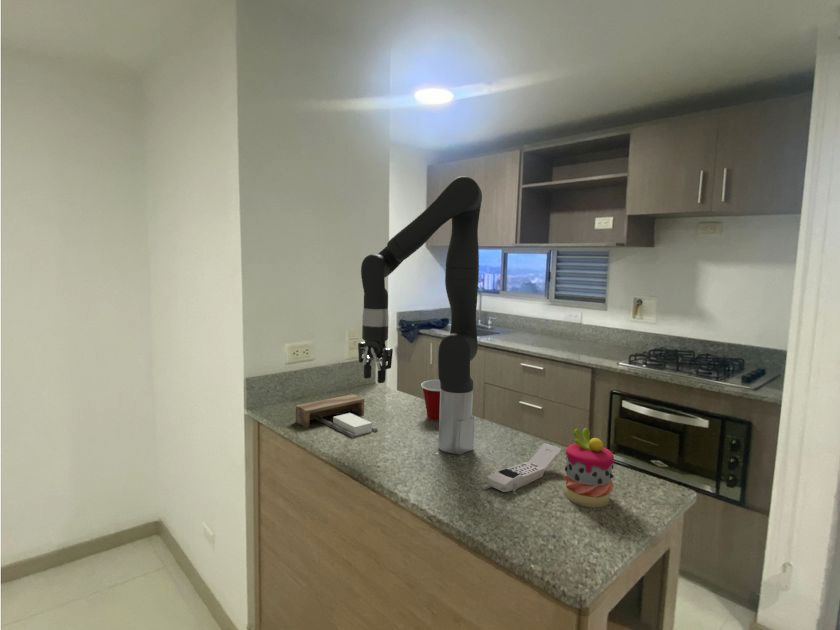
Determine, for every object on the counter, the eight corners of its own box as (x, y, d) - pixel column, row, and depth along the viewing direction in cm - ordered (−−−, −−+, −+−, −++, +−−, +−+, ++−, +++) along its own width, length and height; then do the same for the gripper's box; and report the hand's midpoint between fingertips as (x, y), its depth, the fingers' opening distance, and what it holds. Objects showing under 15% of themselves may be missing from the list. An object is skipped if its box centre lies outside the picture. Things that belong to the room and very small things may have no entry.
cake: (619, 497, 108) (624, 434, 106) (597, 513, 101) (602, 446, 99) (576, 481, 116) (580, 422, 114) (554, 495, 108) (557, 432, 107)
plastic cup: (415, 420, 157) (416, 385, 156) (425, 411, 167) (426, 378, 166) (446, 425, 153) (448, 389, 152) (455, 415, 164) (456, 381, 162)
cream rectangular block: (371, 432, 146) (371, 422, 146) (354, 437, 142) (354, 427, 141) (349, 422, 155) (350, 412, 154) (333, 426, 150) (333, 416, 150)
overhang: (393, 426, 150) (393, 410, 150) (334, 443, 136) (334, 424, 135) (352, 409, 167) (352, 394, 167) (295, 421, 152) (295, 405, 152)
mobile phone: (563, 448, 122) (500, 473, 105) (562, 470, 122) (499, 499, 106) (543, 441, 126) (480, 464, 110) (542, 463, 127) (479, 489, 110)
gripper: (401, 325, 134) (399, 383, 135) (371, 320, 144) (370, 373, 146) (380, 327, 129) (378, 387, 130) (350, 321, 139) (349, 377, 141)
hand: (374, 380), depth 138 cm, fingers open, 6 cm apart
